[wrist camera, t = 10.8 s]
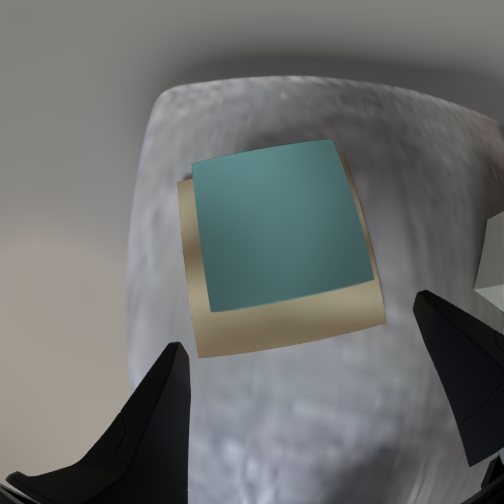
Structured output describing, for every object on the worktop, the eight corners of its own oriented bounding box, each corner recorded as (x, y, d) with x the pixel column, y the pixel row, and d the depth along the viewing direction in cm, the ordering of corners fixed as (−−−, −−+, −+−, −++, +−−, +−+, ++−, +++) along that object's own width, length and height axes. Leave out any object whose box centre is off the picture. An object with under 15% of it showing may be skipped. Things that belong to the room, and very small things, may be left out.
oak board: (381, 322, 17) (386, 322, 17) (202, 356, 18) (198, 358, 17) (340, 159, 20) (343, 152, 19) (181, 187, 21) (177, 182, 20)
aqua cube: (340, 289, 17) (374, 279, 11) (233, 310, 18) (210, 312, 11) (316, 190, 19) (332, 138, 12) (217, 208, 19) (191, 164, 13)
